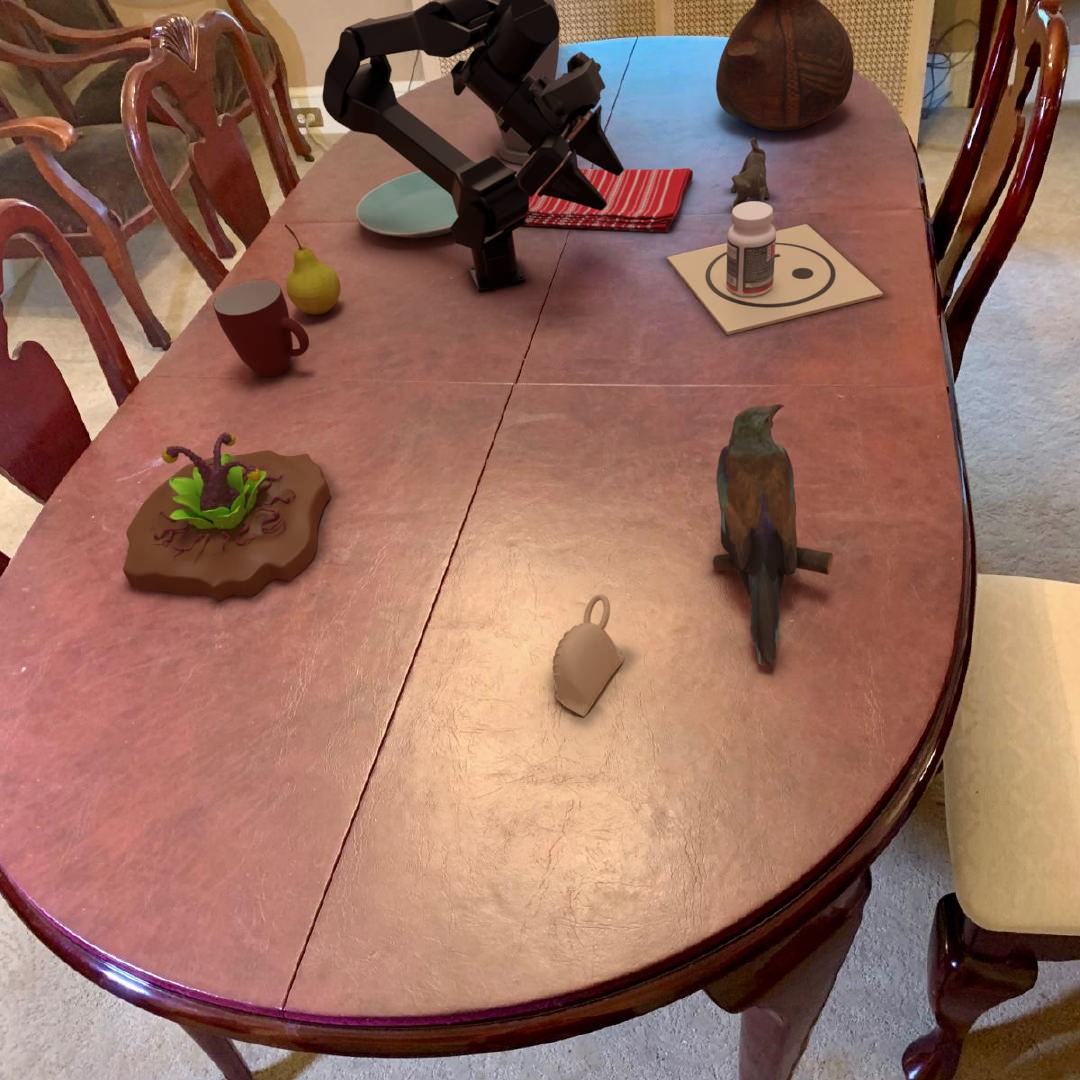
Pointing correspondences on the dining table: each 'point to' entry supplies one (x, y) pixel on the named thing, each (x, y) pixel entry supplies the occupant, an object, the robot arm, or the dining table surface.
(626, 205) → the dish towel
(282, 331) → the mug
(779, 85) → the jug
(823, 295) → the board
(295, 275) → the fruit
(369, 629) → the dining table surface
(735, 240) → the pill bottle
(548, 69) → the vase
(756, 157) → the dog figurine
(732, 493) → the bird figurine
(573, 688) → the decorative ornament
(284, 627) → the dining table surface
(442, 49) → the robot arm
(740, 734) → the dining table surface
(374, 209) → the plate
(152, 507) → the plant
